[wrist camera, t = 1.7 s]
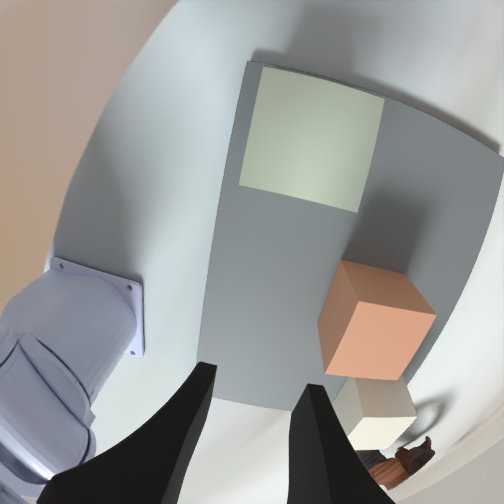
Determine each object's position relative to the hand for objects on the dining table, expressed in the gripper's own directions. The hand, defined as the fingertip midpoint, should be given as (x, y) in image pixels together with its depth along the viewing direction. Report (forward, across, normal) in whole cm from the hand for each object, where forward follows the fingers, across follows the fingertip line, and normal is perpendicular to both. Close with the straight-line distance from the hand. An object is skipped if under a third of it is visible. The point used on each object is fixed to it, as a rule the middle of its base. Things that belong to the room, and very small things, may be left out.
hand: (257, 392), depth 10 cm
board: (+10, -5, 0) cm, 12 cm away
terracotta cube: (+10, -6, 0) cm, 11 cm away
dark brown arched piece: (+11, -20, +21) cm, 31 cm away
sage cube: (+10, 0, -9) cm, 13 cm away
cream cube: (+10, -11, +9) cm, 17 cm away
